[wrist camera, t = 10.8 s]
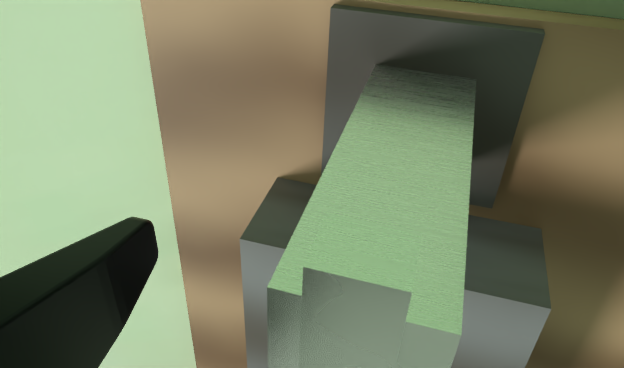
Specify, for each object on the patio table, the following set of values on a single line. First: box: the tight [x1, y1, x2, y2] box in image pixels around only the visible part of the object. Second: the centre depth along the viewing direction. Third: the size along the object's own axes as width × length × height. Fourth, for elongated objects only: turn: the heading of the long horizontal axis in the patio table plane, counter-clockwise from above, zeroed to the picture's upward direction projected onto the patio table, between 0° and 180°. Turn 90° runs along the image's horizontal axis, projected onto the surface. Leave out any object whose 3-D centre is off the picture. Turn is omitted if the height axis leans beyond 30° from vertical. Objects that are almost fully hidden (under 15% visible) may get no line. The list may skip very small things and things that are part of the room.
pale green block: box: [267, 65, 476, 368], centre depth 11 cm, size 6×3×10 cm, turn 177°
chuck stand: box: [141, 0, 624, 368], centre depth 19 cm, size 23×18×4 cm
